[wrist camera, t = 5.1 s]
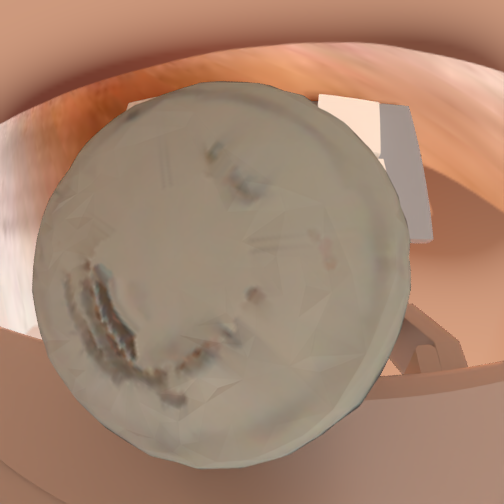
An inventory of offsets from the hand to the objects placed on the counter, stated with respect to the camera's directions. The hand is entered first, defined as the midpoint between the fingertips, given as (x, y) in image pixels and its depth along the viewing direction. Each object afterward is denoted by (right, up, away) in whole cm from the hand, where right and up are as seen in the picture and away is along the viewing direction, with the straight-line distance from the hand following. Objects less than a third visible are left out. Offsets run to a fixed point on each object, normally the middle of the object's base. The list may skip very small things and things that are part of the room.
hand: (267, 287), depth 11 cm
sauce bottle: (+2, -3, +11) cm, 12 cm away
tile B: (+7, +11, +12) cm, 18 cm away
